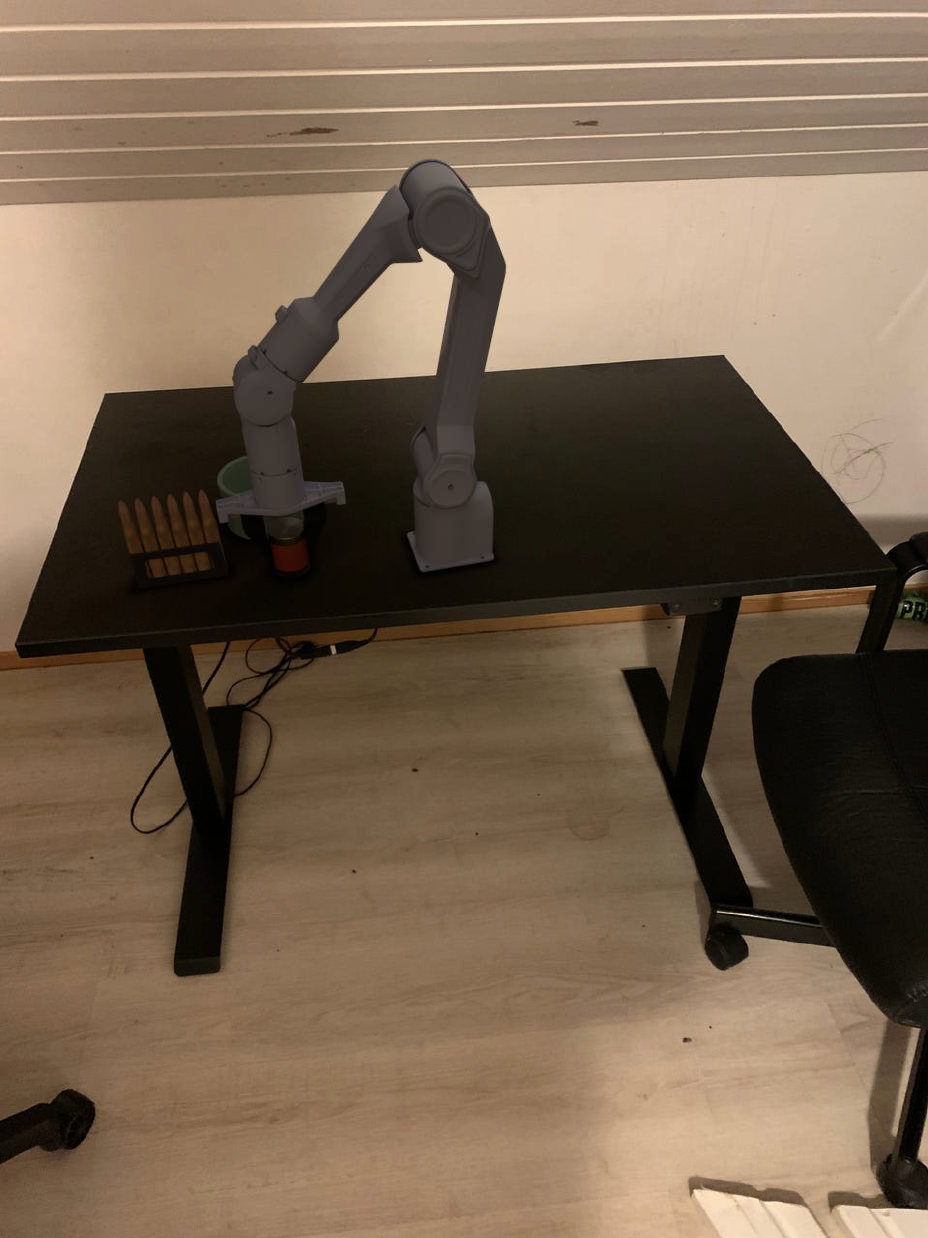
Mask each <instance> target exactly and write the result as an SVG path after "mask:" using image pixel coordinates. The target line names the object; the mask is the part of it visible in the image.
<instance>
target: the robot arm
mask: <svg viewBox="0 0 928 1238" xmlns="http://www.w3.org/2000/svg"><path fill="white" fill-rule="evenodd" d="M420 249H423V250H424V251H425V252H426V253H427V254H429V255H430V256H432V257H433V258H436V259H437V260H439V261H441V262H443V263H445V264H446V266H447V267H448V268H449V269H450V271H451V273H453V277H452V284H451V288H450V293H449V298H448V299H449V300H448V304H447V310H446V316H445V321H444V328H443V333H442V337H441V345H440V350H439V356H438V362H437V367H436V372H435V379H434V384H433V389H432V395H431V401H430V406H429V409H428V410H426V411H425V412H424V413H423V415H422V421H421V424H420V426H419V428H418V430H417V431H416V432H415V433H414V435H413V436H412V438H411V441H410V444H409V451H410V457H411V458H412V460H413V462H414V464H415V466H416V470H417V476H416V478H415V480H414V483H413V486H412V495H413V497H412V498H413V499H412V500H413V519H414V520H413V521H414V530H413V531H409V532H407V533H406V537H407V540H408V543H409V545H410V548H411V550H412V553H413V556H414V559H415V561H416V564H417V567H418V569H419V571H420V572H421V573H426V572H433V571H438V570H439V571H440V570H445V569H452V568H457V567H462V566H463V567H464V566H469V565H474V564H480V563H486V562H491V561H494V560H495V555H494V553H493V547H494V543H493V542H494V505H493V499H492V494H491V491H490V488H489V486H488V484H487V483H486V482H485V481H478V477H477V474H476V471H475V467H474V465H475V458H476V443H475V434H474V433H475V432H474V423H475V419H476V413H477V409H478V406H479V401H480V395H481V391H482V387H483V381H484V376H485V371H486V368H487V363H488V358H489V353H490V350H491V349H490V348H491V343H492V340H493V334H494V330H495V326H496V321H497V316H498V311H499V307H500V301H501V297H502V293H503V288H504V284H505V280H506V279H505V278H506V274H507V263H506V259H505V257H504V254H503V251H502V249H501V247H500V244H499V242H498V239H497V236H496V234H495V231H494V228H493V226H492V222H491V217H490V214H489V213H488V212H487V211H486V209H484V207H483V206H482V205H481V204H480V203H479V201H478V199H477V198H476V197H475V195H474V193H473V191H472V189H471V188H470V187H469V185H468V184H467V183H466V182H465V181H464V180H463V178H462V177H461V176H460V175H459V174H458V172H456V170H455V169H454V168H453V167H452V166H451V165H450V164H448V163H447V162H445V161H443V160H441V159H438V158H423V159H420V160H418V161H416V162H414V163H412V164H411V165H410V166H408V168H407V169H406V170H405V172H404V173H403V174H402V176H401V179H400V181H399V185H397V184H396V183H395V184H394V185H393V186H391V187H390V188H389V189H388V190H387V191H386V192H385V193H384V195H383V196H382V199H381V200H380V201H379V203H378V204H377V206H376V207H375V209H374V210H373V212H372V214H371V215H370V217H369V218H368V220H367V221H366V222H365V223H364V224H363V226H362V227H361V229H360V231H359V232H358V234H357V235H356V236H355V238H354V239H353V240H352V242H350V245H348V247H347V249H346V250H345V251H344V252H343V254H342V256H341V257H340V258H339V260H338V261H337V262H336V263H335V265H334V266H333V268H332V269H331V271H330V272H329V274H328V275H327V276H326V278H325V279H324V281H323V282H322V283H321V284H320V286H319V287H318V289H317V290H316V292H315V293H314V294H313V295H312V296H307V297H298V298H294V299H293V300H292V302H291V303H290V304H289V305H288V306H287V307H286V306H285V305H283V304H281V305H280V306H279V307H278V308H277V310H276V311H275V312H274V318H275V323H274V324H273V325H272V326H271V328H270V329H269V330H268V332H267V333H266V334H265V335H264V336H263V338H262V339H261V340H260V342H259V343H258V344H257V345H255V344H252V345H251V346H250V347H249V349H247V354H245V355H243V356H242V357H240V359H238V361H237V362H236V364H235V365H234V368H233V372H232V377H231V379H232V384H233V400H234V401H233V402H234V404H235V408H236V410H237V412H238V413H239V418H240V422H241V424H242V426H241V434H242V438H243V443H244V449H245V453H246V456H247V459H248V464H249V469H250V474H251V479H252V484H253V489H251V490H249V491H246V492H243V493H240V494H237V495H235V496H232V497H229V498H225V499H221V498H220V499H216V500H215V507H216V512H217V518H218V520H219V524H226V523H227V522H229V519H230V518H236V517H241V522H242V528H243V531H244V532H245V534H246V535H247V536H248V537H249V538H250V539H251V541H252V543H254V544H255V545H256V547H257V548H258V550H259V552H261V554H262V556H263V557H264V560H265V561H266V563H267V567H274V563H273V558H272V554H271V549H270V544H269V540H268V537H267V534H266V530H265V525H264V519H263V515H265V516H284V515H289V514H292V513H295V512H298V511H301V510H303V514H304V525H305V532H306V537H307V543H308V551H309V557H310V561H312V560H316V557H317V556H316V553H317V546H318V542H319V538H320V535H321V533H322V530H323V529H324V526H325V525H326V523H327V520H328V513H327V509H326V505H327V504H332V503H333V504H334V503H336V505H337V506H341V505H346V504H347V500H346V492H345V487H344V483H343V481H333V482H331V481H330V482H329V481H328V482H327V481H326V482H325V481H307V480H306V481H305V480H304V474H303V467H302V466H303V465H302V460H301V459H302V458H301V454H300V447H299V440H298V432H297V425H296V423H295V420H294V418H293V416H292V410H293V408H294V402H295V401H294V392H295V391H296V390H297V389H299V387H301V386H302V385H303V384H304V382H305V381H306V380H307V379H308V378H309V376H311V374H312V373H313V372H314V371H315V369H316V368H317V367H318V366H319V364H321V362H322V361H323V360H324V359H325V357H326V356H327V355H328V354H329V353H330V351H331V350H332V349H334V346H336V344H337V343H338V342H339V340H340V329H339V321H340V320H341V319H342V318H343V317H344V316H345V315H346V314H347V313H348V312H349V311H350V309H351V308H353V306H355V304H356V303H357V301H359V300H360V299H361V297H363V295H364V294H365V293H366V292H367V291H368V290H369V289H370V288H371V287H372V286H373V284H375V283H376V281H377V280H379V278H380V277H381V276H382V275H383V274H384V273H385V272H386V271H387V269H388V268H389V267H390V266H391V265H394V264H418V263H423V262H424V259H423V257H422V256H421V253H420V251H419V250H420ZM250 539H249V540H250Z"/></svg>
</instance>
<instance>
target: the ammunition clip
mask: <svg viewBox="0 0 928 1238" xmlns="http://www.w3.org/2000/svg"><path fill="white" fill-rule="evenodd" d="M150 501H151V503H150V504H151V513H152V517H153V520H154V526H153V524H152V523H151V520H150V517H149V515H148V512H147V510H146V507H145V505H144V504H143V502H142V501H141V499H139V498H138V497H136V498H135V501H134V510H135V515H136V518H137V524H138V528H137V527H136V525H135V523H134V519H133V518H132V515H131V512H130V511H129V509H128V507H127V505H126V504H125V503H124V501H122V500H119V501H118V515H119V518H120V523H121V527H122V534H123V538H124V540H125V544H126V547H127V550H128V554H129V558H130V562H131V566H132V569H133V573H134V578H135V581H136V585H137V588H138V589H139V590H140V589H147V588H153V587H160V586H167V585H173V584H180V583H186V582H193V581H199V580H206V579H213V578H218V577H225V576H229V573H230V572H229V571H230V570H229V564H228V560H227V557H226V554H225V550H224V547H223V544H222V541H221V537H220V532H219V528H218V524H217V520H216V517H215V516H214V513H213V510H212V508H211V503H210V501H209V498H208V496H207V495H206V492H205V491H204V490H203V489H200V490H199V491H198V506H199V510H200V516H201V519H199V516H198V513H197V510H196V508H195V505H194V502H193V499H192V498H191V496H190V494H189V493H188V492H187V491H184V492H183V496H182V504H183V510H184V515H185V521H184V519H183V517H182V514H181V512H180V509H179V508H180V507H179V505H178V504H177V501H176V499H175V497H174V496H173V495H172V494H171V493H168V494H167V499H166V501H167V503H166V504H167V511H168V516H169V520H170V524H169V523H168V521H167V517H166V515H165V512H164V509H163V507H162V505H161V502H160V501H159V500H158V498H157V497H156V496H155V495H153V496H151V500H150Z"/></svg>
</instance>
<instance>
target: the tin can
mask: <svg viewBox="0 0 928 1238" xmlns="http://www.w3.org/2000/svg"><path fill="white" fill-rule="evenodd" d="M267 533H268V539H269V540H268V541H269V544H270V549H271V554H272V558H273V563H274V566H273V568H274V572H275V574H276V575H278V576H279V577H281V578H284V579H297V578H300V577H302V576H304V575H306V574H307V573H309V571H310V569H311V566H312V563H311V560H310V557H309V551H308V543H307V537H306V526H305V522H304V521H303V522H302V521H301V520H300V519H298V518H294V517H283V518H279V519H276V520H274V521H273V522H271V523H270V524H269V526H268V528H267Z"/></svg>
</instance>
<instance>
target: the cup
mask: <svg viewBox="0 0 928 1238" xmlns="http://www.w3.org/2000/svg"><path fill="white" fill-rule="evenodd" d="M216 480H217V481H216V483H217V488H218V492H219V497H220V499H225V498H229V497H232V496H235V495H237V494H240V493H243V492H246V491H249V490H251V489H253V484H252V479H251V474H250V469H249V464H248V459H247V455H244V456H240V457H238V458H236V459H234V460H232V461H230V462H229V463H227V464H225V465H224V466H223V467H222V468H221V470H220V471H219V472H218V475H217V478H216ZM283 517H294V518H298V519H300V520H301V521H302V522H303V523H304V522H305V520H304V514H303V510H301V511H298V512H295V513H292V514H289V515H284V516H265V515H263V519H264V525H265V530H266V534H267V537H268V533H267V528H268V526H269V524H270V523H271V522H273V521H274V520H276V519H279V518H283ZM226 525H227V528H228V529H229V530H230V531H231V532H232V533H233V534H234V535H236V536H237V537H239V538H243V539H245V540H246V539H247V540H251V539H250V538H249V537H248V536H247V535H246V534H245V532H244V531H243V528H242V522H241V517H236V518H230V519H229V522H226ZM251 541H252V540H251ZM268 541H269V539H268Z"/></svg>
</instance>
